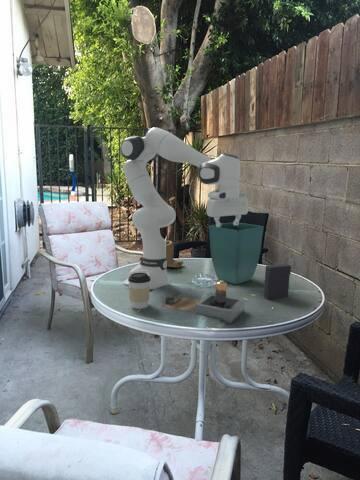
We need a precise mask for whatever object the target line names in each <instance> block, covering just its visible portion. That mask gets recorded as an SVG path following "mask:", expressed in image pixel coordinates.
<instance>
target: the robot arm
mask: <svg viewBox="0 0 360 480" xmlns="http://www.w3.org/2000/svg"><path fill="white" fill-rule="evenodd" d="M119 150H120V154H121V156H122V157H123V158H125V159H127V161H125V162H124V164H123V174H124V177H125V181H126V183H127V185H128V187H129V190H130V192H131V195H132V197H133V199H134V200H135V202H137V203H138V204H140V205H141V206H142V207H139V208H138V209H136V210H134V212H133V213H132V217H131V221H132V224H133V226H134V227H135V229H137V230H138V232H139V234H140V237H141V241H142V256H141V257H139V258H138V262H139V264H137V265H136V266H134V268H132V269H131V270H130V271H129V273H128V278H127V279H125V280H124V281H123V285H124V286H128V287H129V281H128V279H129V277H130V276H131V274H133V273H146V274H148V276H150V279H151V280H150V290H151V291H152V290H157V289H159V288H161V287H163V286H166V285H168V286H169V285H170V282H169V279H168V273H167V268H168V267H167V257H166V241H167V240H166V239H165V238H164V237H162V234H161V230H160V228H161V229H162V228H166V227H168V226H170V225H172V224H173V223H174V222H175V220H176V216H177V213H176V211H175V209H174V208H173V206H171V205H169V204H168V203H167V202H166V200H164V199H163V198H162V197H161V195H160V194H159V193H158V191H157V189H156V188H155V185H154V183H153V181H152V178H151V176H150V174H149V172H148V170H147V165H151V164H152V163H153V162H154V161H155V160H156V159H158V157H159V156H160V157H162V158H163V159H165V160H168V161H169V162H174V163H184V164H190V165H193V166H196V167H197V168H198V169H197V178H198V180H199V181H200V183H202V184H203V185H208V186H209V185H218V186H217V189H215V190H213V191H209V192H208V193H207V198H208V199H207V202H206V211H205V212H206V215H207V216H208V217H211V218H213V219H214V221H215V225H216V227H221V224H222V222H220V220H221V217H229V216H235V220H233V225H235V226H236V225H238V224H239V223H240V220H241V218H242V215H243V216H245V215H247V214H248V212H249V203H248V195H247V194H246V193H245V192H240V177H241V162H240V161H241V160H240V158H239V157H238V155H235V154H231V153H221V154H220V155H219V156H218V157H216V158H214V159H213V158H212V157H209V156H208V155H206V154H204V153H202V152H201V151H199V150H197V149H195V148H194V147H192V146H191V145H189V144H188V143H186V142H185V141H184V140H183V139H181V138H179V137H177V136H176V135H175V134H173V133H171V132H169V131H168V130H166V129H163V128H160V127H152V128H150V129H149V130H148V131H147V133H146V134H145V136H141V135H135V136H128V137H126V138H124V139H123V140H122V141H121V142H120V149H119Z"/></svg>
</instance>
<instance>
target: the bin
mask: <svg viewBox="0 0 360 480" xmlns="http://www.w3.org/2000/svg"><path fill="white" fill-rule="evenodd" d="M200 300H201V301H200V302H198V303H197V304H195V310H194V313H195V314H197V315H203V316H208V317H212V318H219V319H221V320H219V322H220V323H225V324H233V322H235V321H236V320H237V319H238V318H239V317H240V316H241V314H243V312H245V310H244V309H245V299H243V298H237V297H231V296H226V307H229V308H219V307H215V293H214V294H213V293H209V294H208V295H206V296H205V297H204V298H202V299H200ZM212 304H213V305H214V306H212Z"/></svg>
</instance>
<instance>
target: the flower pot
mask: <svg viewBox="0 0 360 480" xmlns="http://www.w3.org/2000/svg"><path fill="white" fill-rule="evenodd" d="M208 231H209V247H210V255H211V261H212V266H213V270H214V271H215V275H216V277H217V279H218V281H220V280H223V281H225V282H227V283H230V284H234V285H238V284H242V283H245V282H248V281H252V279H253V277H254V275H255V272H256V270H257V267H258V264H259V260H260V256H261V250H262V243H263V242H262V241H263V234H264V225H257V224H249V223H244V222H243V223H242V222H239V224H238V225H236V226H235V225H233V222H227V223H221V227H216V224H211V225H209V226H208Z"/></svg>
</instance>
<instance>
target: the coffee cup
mask: <svg viewBox="0 0 360 480" xmlns="http://www.w3.org/2000/svg"><path fill="white" fill-rule="evenodd" d="M128 277H129V276H128ZM127 279H128V278H127ZM150 280H151V279H150V276H148V274H146V273H133V274H131V276H130V277H129V279H128V281H129V286H128V293H129V301H130V307H131V308H133V309H135V310H137V309H138V310H139V309H140V310H141V309H142V310H143V309H146V308H147V307H149V300H150V292H151V291H150Z"/></svg>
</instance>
